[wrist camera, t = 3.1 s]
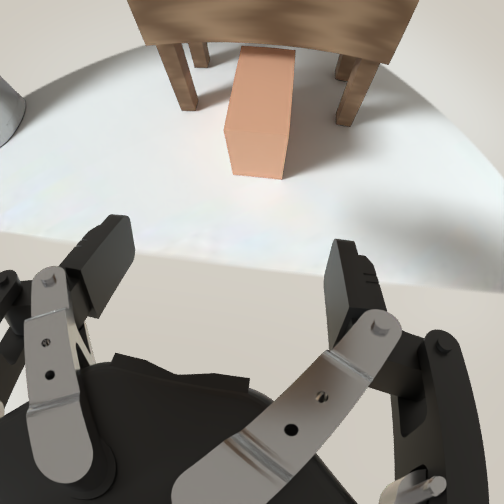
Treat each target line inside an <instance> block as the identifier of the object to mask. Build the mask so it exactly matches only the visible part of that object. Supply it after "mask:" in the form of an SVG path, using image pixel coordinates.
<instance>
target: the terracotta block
mask: <svg viewBox="0 0 504 504" xmlns="http://www.w3.org/2000/svg"><path fill="white" fill-rule="evenodd" d="M294 64H295V50H289V49H279V48H268V47H253V46H242V47H241V51H240V55H239V60H238V64H237V69H236V73H235V78H234V82H233V87H232V92H231V96H230V101H229V106H228V111H227V116H226V121H225V126H224V134H225V138H226V143H227V148H228V153H229V157H230V162H231V167H232V171H233V175H243V176H253V177H263V178H272V179H281V180H282V175H283V169H284V163H285V157H286V151H287V145H288V139H289V129H290V117H291V105H292V92H293V78H294Z"/></svg>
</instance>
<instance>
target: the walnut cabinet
mask: <svg viewBox="0 0 504 504" xmlns="http://www.w3.org/2000/svg"><path fill="white" fill-rule="evenodd" d="M127 2H128V4H129V6H130V8H131V11H132V14H133V16H134V18H135V21H136V23H137V25H138V28H139V30H140V33H141V35H142V37H143V40H144V42H145V44H146V46H149V45H156V47H157V49H158V52H159V54H160V57H161V59H162V62H163V64H164V67H165V70H166V72H167V75H168V77H169V80H170V82H171V85H172V87H173V90H174V92H175V95H176V97H177V100H178V102H179V105H180V108H181V110H182V111H196V107H197V103H198V97H197V94H196V91H195V87H194V84H193V80H192V77H191V74H190V70H189V67H188V64H187V60H186V57H185V54H184V50H183V47H182V43H188V44H189V48H190V52H191V55H192V59H193V63H194V66H195V68H207V67H208V64H209V61H210V57H209V52H208V47H207V42H237V43H258V44H272V45H282V46H292V47H300V48H308V49H315V50H321V51H327V52H333V53H338V54H340V55H339V59H338V62H337V65H336V69H335V79H337V80H342V81H348V82H347V85H346V88H345V90H344V93H343V96H342V99H341V101H340V104H339V107H338V109H337V112H336V124H337V125H343V126H348V127H350V126H351V124H352V122H353V120H354V118H355V116H356V114H357V112H358V110H359V108H360V106H361V103H362V101H363V99H364V97H365V95H366V93H367V91H368V89H369V86H370V84H371V82H372V80H373V78H374V76H375V73H376V71H377V69H378V67H379V65H380V63H383V64H387V65H389V63H390V61H391V59H392V57H393V55H394V53H395V51H396V48H397V46H398V44H399V42H400V40H401V38H402V36H403V34H404V32H405V30H406V28H407V26H408V23H409V21H410V19H411V17H412V15H413V13H414V10H415V8H416V6H417V4H418V2H419V0H127Z"/></svg>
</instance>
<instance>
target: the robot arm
mask: <svg viewBox="0 0 504 504" xmlns="http://www.w3.org/2000/svg"><path fill="white" fill-rule="evenodd" d="M25 105H26V103H25V100H24V99H23V98H22V97H21V96H20V95H19V94H18V93H17V92H16V91H15V90H14V89H13V88H12V87H11V86H10V85H9V84H8V83H7V82H6V81H5V80H4V79H3V78H2V77H1V76H0V147H1V146H2V145H3V144H4V143H5V142H7V141H8V139H9V138H10V137H11V136H12V135H13V133H14V132H15V131H16V129H17V127H18V126H19V124H20V122H21V120H22V118H23V115H24V112H25ZM134 255H135V246H134V241H133V235H132V229H131V222H130V219H129V217H128V216H125V215H113V214H111V215H109V216H108V217H107V218H106V219H105V220H104V221H103V223H102V224H101V225H98V226H97V227H95V228H93V229H92V230H90V231H89V232H88V233H87V234H86V235H85V236H84V237H83V238H82V241H80V242H79V243H78V244H77V246H76V247H74V249H73V250H72V251H71V252H70V253H69V254H68V256H67V257H66V258H65V259H64V260H63V262H62V263H61V264H60V265H59V266H51V267H47V268H45V269H43V270H41V271H40V272H38V273H37V274H36V275H35V277H34V278H33V280H28V281H20V280H19V278H18V276H17V274H16V272H15V271H13V270H6V271H3V272H1V273H0V322H1V321H2V319H3V318H4V317H5V319H6V320H7V322H8V324H9V326H10V327H9V329H8V330H7V332H6V334H5V335H4V337H3V339H2V340H1V342H0V504H357V502H356V501H355V500H354V499H353V498H352V497H351V495H350V494H349V493H348V492H347V491H346V489H345V488H344V487H343V486H342V485H341V483H340V482H339V481H338V480H337V479H336V477H335V476H334V475H333V474H332V472H331V471H330V470H329V469H328V467H327V466H326V465H325V464H324V462H323V461H322V460H321V459H320V458H319V456H318V455H317V454H316V452H317V451H318V450H319V449H320V447H321V446H322V445H323V444H324V443H325V442H326V440H327V439H328V438H329V437H330V436H331V434H332V433H333V432H334V431H335V429H336V428H337V427H338V426H339V425H340V423H341V422H342V421H343V420H344V418H345V417H346V416H347V415H348V413H349V412H350V411H351V409H352V408H353V407H354V405H355V404H356V403H357V401H358V400H359V398H360V397H361V396H362V395H363V393H364V392H365V390H366V389H367V387H370V388H373V389H376V390H379V391H382V392H385V393H389V394H390V395H391V406H392V418H393V435H394V459H395V481H394V482H392V483H391V484H389V485H388V486H387V487H386V488H385V489H384V490H383V492H382V494H381V496H380V500H379V504H489V492H488V481H487V470H486V461H485V455H484V447H483V440H482V434H481V429H480V424H479V418H478V413H477V409H476V405H475V400H474V396H473V391H472V387H471V383H470V380H469V376H468V372H467V369H466V365H465V362H464V358H463V355H462V352H461V348H460V346H459V343H458V342H457V340H456V339H455V338H454V337H453V336H452V335H451V334H449V333H448V332H445V331H442V330H432V331H430V332H429V333H428V334H427V335H426V336H425V338H421V337H419V336H415V335H412V334H410V333H407V332H405V331H403V330H402V328H401V325H400V323H399V321H398V320H397V319H396V318H395V317H394V316H393V315H392V314H390V313H388V312H387V309H386V306H385V302H384V298H383V295H382V291H381V288H380V285H379V281H378V278H377V277H376V272H375V269H374V265H373V264H372V263H371V262H370V260H369V259H368V258H367V257H366V256H363V255H358V252H357V249H356V245H355V242H354V241H349V240H341V239H334V241H333V243H332V247H331V251H330V255H329V259H328V263H327V267H326V270H325V275H324V293H325V304H326V315H327V325H328V326H327V327H328V339H329V350H326V351H324V352H323V353H322V354H321V355H320V356H319V357H318V358H317V359H316V360H315V361H314V363H312V365H311V366H310V367H309V368H308V369H307V370H306V371H305V372H304V373H303V374H302V375H301V376H300V377H299V378H298V379H297V380H296V381H295V382H294V383H293V384H292V385H291V386H290V387H289V388H288V389H287V390H286V391H284V392H283V393H282V394H281V395H280V397H278V398H277V399H276V400H275V401H273V400H272V399H270V398H269V397H267V396H266V395H264V394H262V393H260V392H258V391H256V390H253V389H251V388H249V381H250V378H244V377H236V376H230V375H223V374H216V373H210V374H191V375H190V374H189V375H177V374H173V373H171V372H169V371H167V370H165V369H163V368H161V367H158V366H156V365H154V364H152V363H150V362H148V361H146V360H143V359H139V358H134V357H130V356H126V355H122V354H118V353H115V355H114V357H113V359H112V361H111V362H103V363H97V364H96V362H95V359H94V355H93V351H92V347H91V342H90V338H89V334H88V329H87V325H86V323H85V320H86V318H87V316H89V317H93V318H97V319H99V317H100V315H101V313H102V312H103V310H104V308H105V307H106V305H107V303H108V302H109V300H110V298H111V296H112V295H113V293H114V291H115V290H116V288H117V286H118V285H119V283H120V282H121V280H122V278H123V277H124V275H125V273H126V272H127V270H128V269H129V267H130V265H131V264H132V262H133V260H134ZM24 365H25V366H26V378H27V388H28V397H29V401H28V402H26V403H25V404H23V405H21V406H20V407H18V408H16V409H15V410H13V411H11V412H10V413H8V414H6V415H5V416H4V409H5V406H6V404H7V402H8V399H9V397H10V395H11V393H12V390H13V388H14V386H15V384H16V382H17V380H18V377H19V375H20V373H21V371H22V369H23V367H24Z"/></svg>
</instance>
